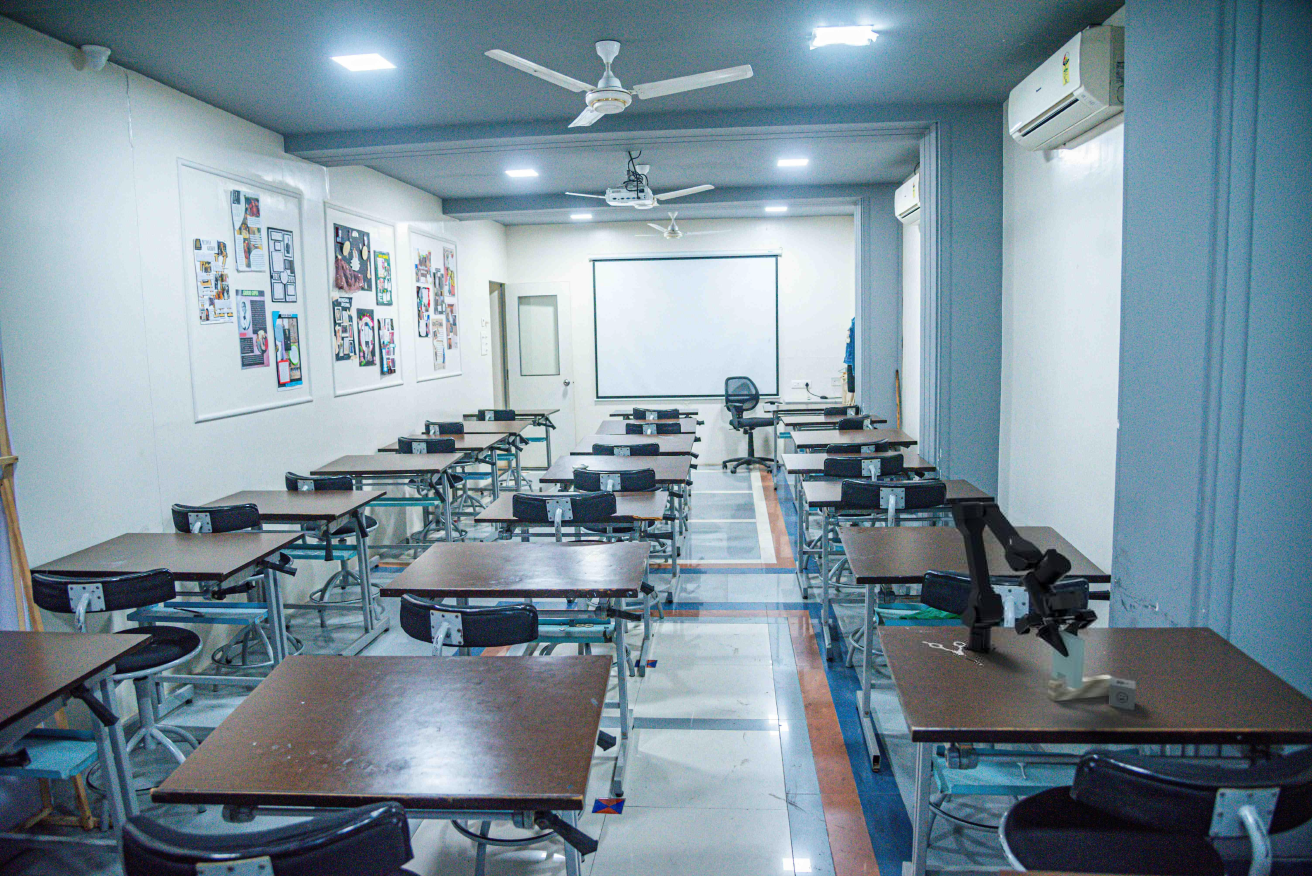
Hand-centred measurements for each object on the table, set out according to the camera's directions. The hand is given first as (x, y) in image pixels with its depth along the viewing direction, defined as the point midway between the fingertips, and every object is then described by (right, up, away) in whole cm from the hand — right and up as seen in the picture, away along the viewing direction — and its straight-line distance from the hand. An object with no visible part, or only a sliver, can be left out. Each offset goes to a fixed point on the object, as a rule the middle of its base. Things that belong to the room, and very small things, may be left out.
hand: (1072, 656), depth 196 cm
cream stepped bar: (+4, -10, +3) cm, 11 cm away
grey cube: (+11, -11, -1) cm, 15 cm away
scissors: (-15, -8, +30) cm, 34 cm away
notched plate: (0, -6, +2) cm, 7 cm away
